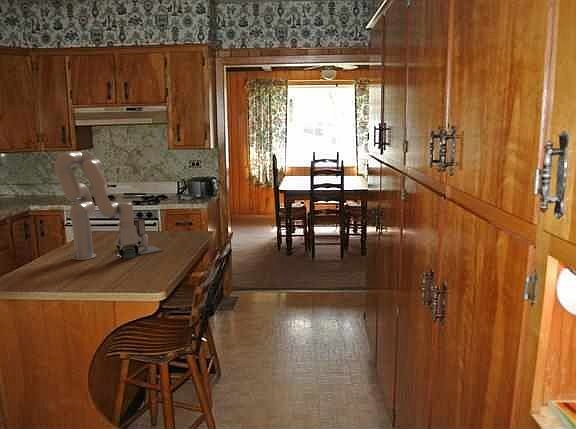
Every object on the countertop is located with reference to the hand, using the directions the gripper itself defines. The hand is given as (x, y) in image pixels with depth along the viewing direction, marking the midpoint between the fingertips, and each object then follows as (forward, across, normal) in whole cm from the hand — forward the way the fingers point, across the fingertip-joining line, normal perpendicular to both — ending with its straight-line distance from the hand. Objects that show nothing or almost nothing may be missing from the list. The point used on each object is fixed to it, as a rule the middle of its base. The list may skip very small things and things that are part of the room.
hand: (129, 254), depth 281 cm
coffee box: (+2, +17, +25) cm, 30 cm away
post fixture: (+1, +13, +5) cm, 14 cm away
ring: (+1, 0, 0) cm, 1 cm away
